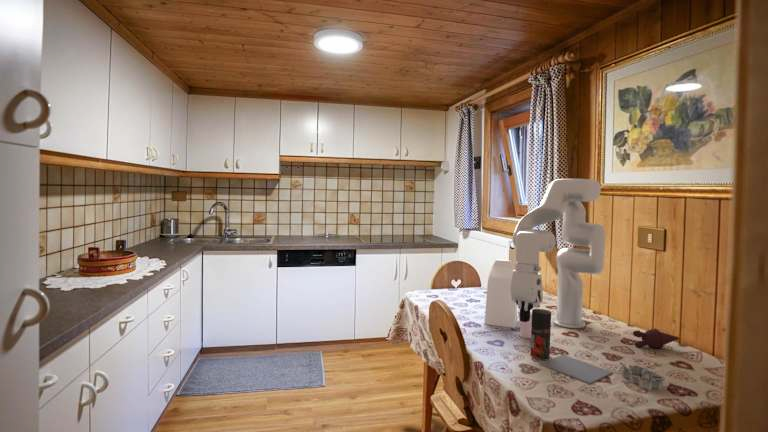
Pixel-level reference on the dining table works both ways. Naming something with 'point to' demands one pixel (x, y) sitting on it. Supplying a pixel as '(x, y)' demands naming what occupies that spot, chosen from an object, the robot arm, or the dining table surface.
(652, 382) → the egg carton
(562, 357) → the felt mat
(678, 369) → the dining table surface
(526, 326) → the smoothie
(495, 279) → the milk
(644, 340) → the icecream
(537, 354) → the deodorant
